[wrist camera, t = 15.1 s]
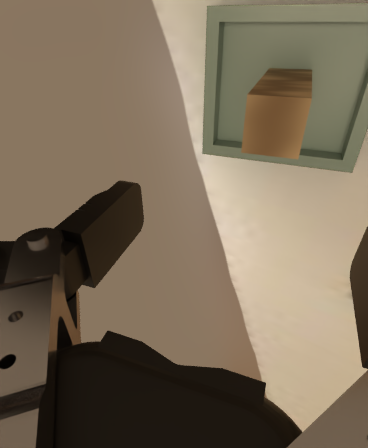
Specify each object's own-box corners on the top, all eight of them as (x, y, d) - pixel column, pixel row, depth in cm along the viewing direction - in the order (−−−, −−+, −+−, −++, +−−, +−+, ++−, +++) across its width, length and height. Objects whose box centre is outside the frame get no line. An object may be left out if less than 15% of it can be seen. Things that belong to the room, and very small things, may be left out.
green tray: (402, 3, 25) (411, 2, 22) (349, 161, 33) (352, 172, 30) (215, 6, 29) (207, 5, 27) (209, 145, 37) (202, 153, 35)
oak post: (312, 69, 28) (311, 98, 18) (302, 112, 31) (298, 159, 21) (269, 68, 30) (247, 94, 20) (263, 109, 32) (241, 152, 22)
